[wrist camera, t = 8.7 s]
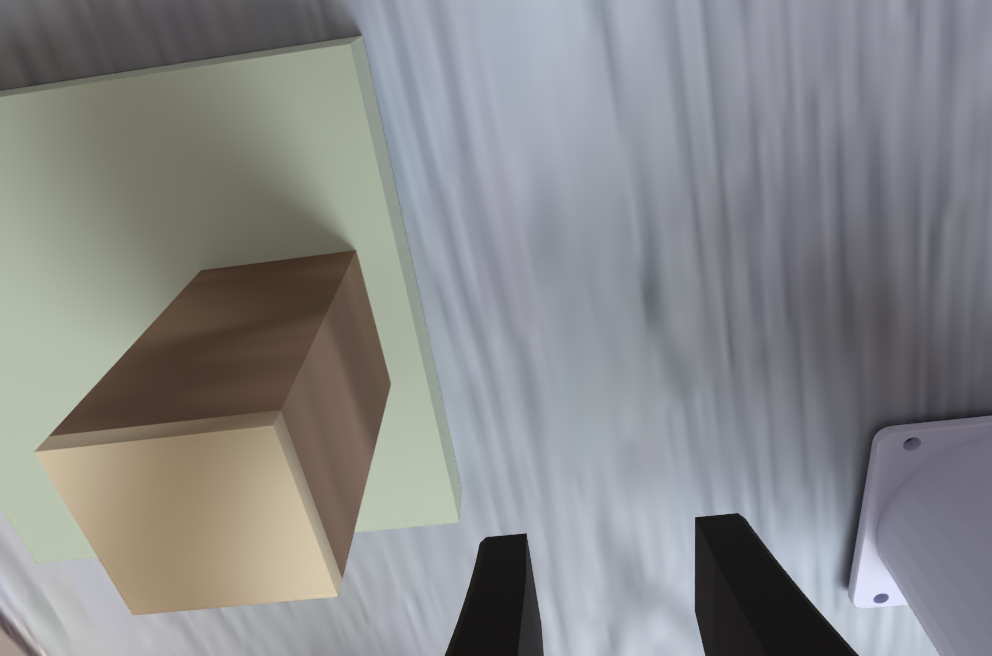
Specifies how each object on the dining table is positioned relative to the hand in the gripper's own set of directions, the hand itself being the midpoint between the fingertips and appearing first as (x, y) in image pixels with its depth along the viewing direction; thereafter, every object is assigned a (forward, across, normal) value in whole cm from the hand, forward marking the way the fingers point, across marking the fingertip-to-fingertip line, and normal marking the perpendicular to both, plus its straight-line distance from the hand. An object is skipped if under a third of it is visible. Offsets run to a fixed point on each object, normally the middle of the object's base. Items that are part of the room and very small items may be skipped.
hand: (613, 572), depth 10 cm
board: (+10, +11, 0) cm, 15 cm away
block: (+8, +7, 0) cm, 11 cm away
